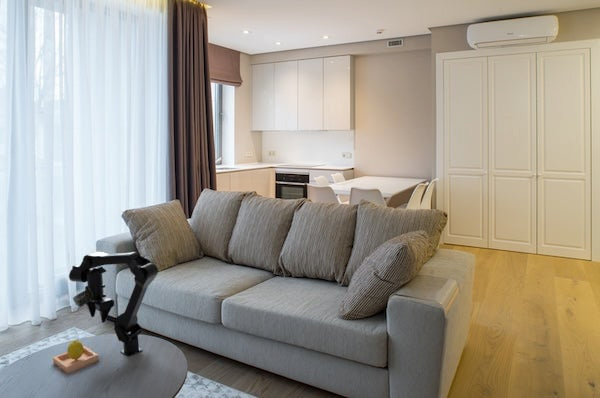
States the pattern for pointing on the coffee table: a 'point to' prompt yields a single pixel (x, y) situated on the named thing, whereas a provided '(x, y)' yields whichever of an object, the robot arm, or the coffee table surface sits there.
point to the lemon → (75, 350)
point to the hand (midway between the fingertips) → (98, 319)
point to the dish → (70, 364)
